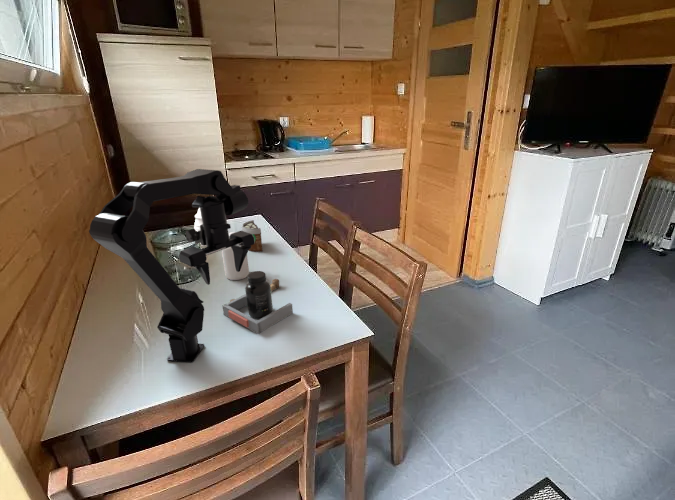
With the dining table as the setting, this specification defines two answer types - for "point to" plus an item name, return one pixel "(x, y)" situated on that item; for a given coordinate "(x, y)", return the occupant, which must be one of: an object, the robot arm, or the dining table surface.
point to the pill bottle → (233, 265)
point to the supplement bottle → (258, 295)
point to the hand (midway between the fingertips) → (223, 277)
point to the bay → (256, 326)
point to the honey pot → (198, 222)
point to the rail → (272, 285)
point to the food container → (256, 232)
